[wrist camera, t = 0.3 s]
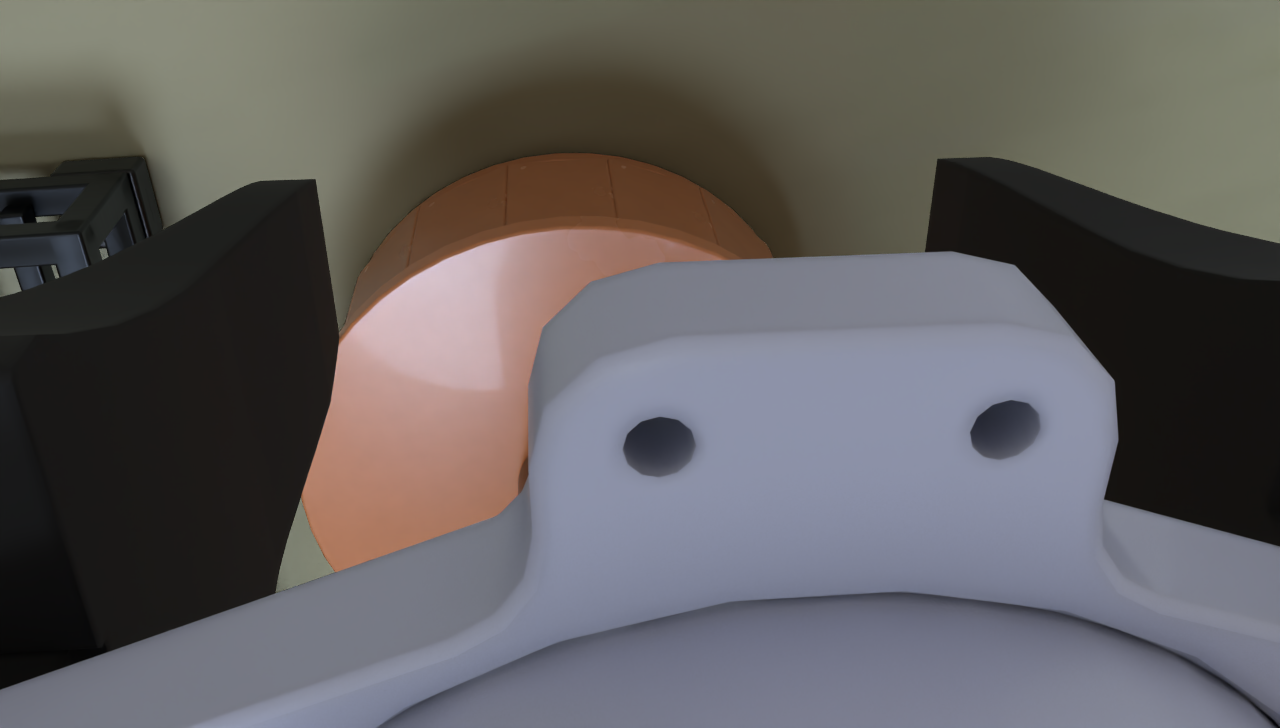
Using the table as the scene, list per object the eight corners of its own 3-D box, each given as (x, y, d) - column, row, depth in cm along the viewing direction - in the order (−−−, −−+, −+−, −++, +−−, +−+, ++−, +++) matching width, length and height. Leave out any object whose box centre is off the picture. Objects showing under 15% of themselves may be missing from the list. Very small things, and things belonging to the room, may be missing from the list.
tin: (789, 523, 29) (822, 632, 26) (380, 557, 29) (362, 672, 25) (803, 136, 24) (846, 211, 21) (305, 168, 23) (269, 251, 20)
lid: (829, 622, 26) (883, 794, 22) (354, 663, 26) (322, 847, 22) (856, 180, 21) (934, 304, 17) (255, 221, 20) (188, 358, 16)
